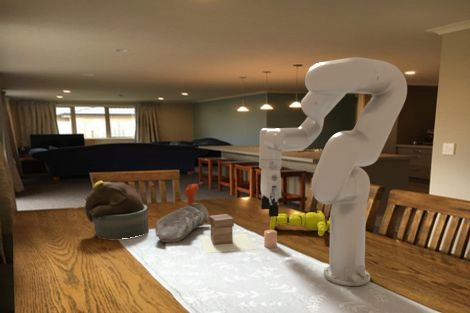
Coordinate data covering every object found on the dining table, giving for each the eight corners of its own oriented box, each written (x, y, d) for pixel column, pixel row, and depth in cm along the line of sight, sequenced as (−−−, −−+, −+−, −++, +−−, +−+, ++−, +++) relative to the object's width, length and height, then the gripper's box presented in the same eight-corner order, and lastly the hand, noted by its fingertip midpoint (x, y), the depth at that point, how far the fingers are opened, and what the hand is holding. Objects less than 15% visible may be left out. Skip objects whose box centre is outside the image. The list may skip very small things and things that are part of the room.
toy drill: (207, 204, 193) (206, 177, 190) (193, 217, 176) (191, 187, 173) (199, 204, 195) (197, 176, 192) (183, 216, 177) (181, 187, 174)
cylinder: (278, 250, 127) (278, 233, 126) (266, 250, 126) (266, 233, 126) (274, 245, 131) (274, 229, 131) (262, 246, 130) (262, 230, 130)
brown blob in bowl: (72, 237, 143) (69, 182, 141) (119, 222, 165) (118, 174, 163) (115, 246, 132) (112, 186, 130) (159, 228, 154) (158, 177, 152)
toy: (265, 240, 138) (348, 252, 132) (268, 216, 137) (351, 227, 131) (273, 220, 167) (341, 229, 161) (275, 200, 166) (344, 208, 160)
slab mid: (232, 235, 131) (232, 227, 131) (213, 236, 130) (213, 228, 130) (229, 230, 138) (229, 222, 138) (210, 231, 137) (210, 223, 137)
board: (258, 251, 126) (258, 248, 126) (205, 255, 122) (205, 252, 122) (246, 235, 143) (246, 233, 143) (200, 238, 140) (200, 236, 140)
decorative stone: (180, 222, 165) (179, 200, 164) (212, 224, 161) (211, 201, 160) (145, 245, 134) (144, 218, 133) (184, 248, 130) (183, 220, 129)
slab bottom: (232, 243, 132) (232, 235, 131) (213, 244, 130) (213, 236, 130) (229, 237, 138) (229, 230, 138) (210, 239, 137) (210, 231, 137)
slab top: (233, 226, 132) (233, 218, 132) (215, 228, 129) (215, 220, 129) (226, 221, 138) (226, 214, 138) (209, 223, 136) (208, 215, 135)
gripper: (289, 167, 119) (287, 218, 120) (273, 160, 135) (272, 206, 137) (266, 167, 117) (265, 219, 119) (253, 161, 134) (253, 207, 136)
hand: (269, 212), depth 128 cm, fingers open, 9 cm apart
